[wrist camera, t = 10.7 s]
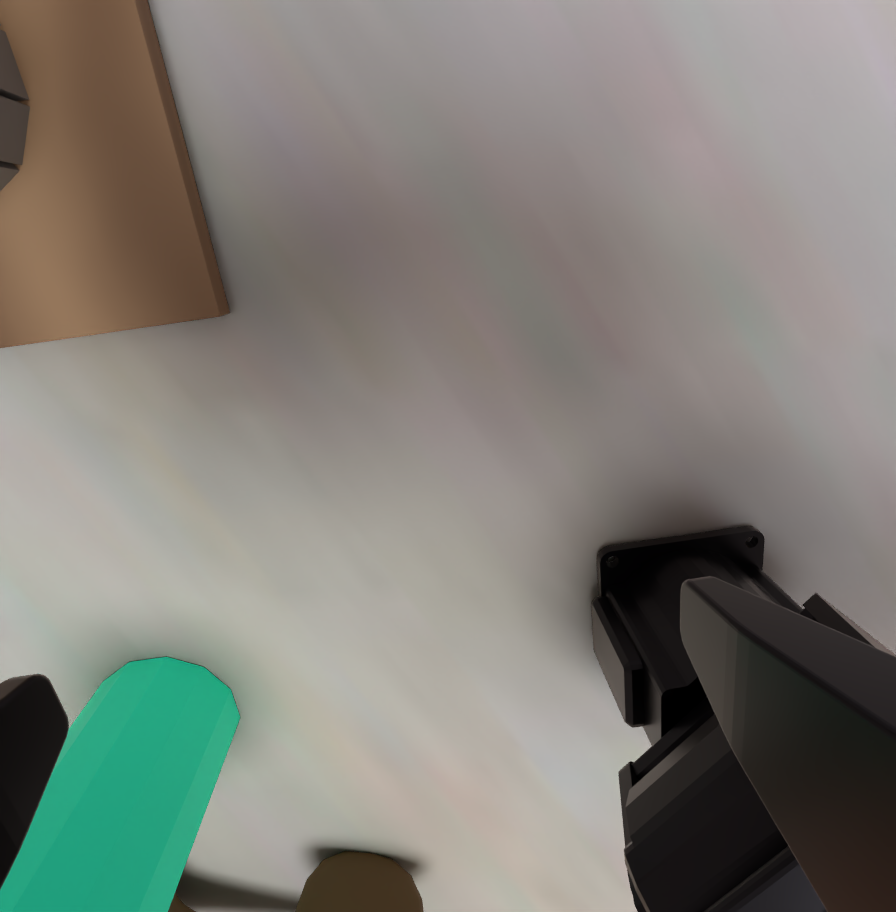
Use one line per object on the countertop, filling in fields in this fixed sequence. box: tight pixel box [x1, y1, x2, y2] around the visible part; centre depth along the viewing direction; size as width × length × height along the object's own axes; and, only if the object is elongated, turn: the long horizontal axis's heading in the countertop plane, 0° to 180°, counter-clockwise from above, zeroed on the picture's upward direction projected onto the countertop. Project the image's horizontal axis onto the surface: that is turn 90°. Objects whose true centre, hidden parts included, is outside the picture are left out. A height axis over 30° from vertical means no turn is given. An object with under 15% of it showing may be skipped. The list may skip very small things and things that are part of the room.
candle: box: [0, 657, 240, 912], centre depth 19 cm, size 6×6×12 cm
